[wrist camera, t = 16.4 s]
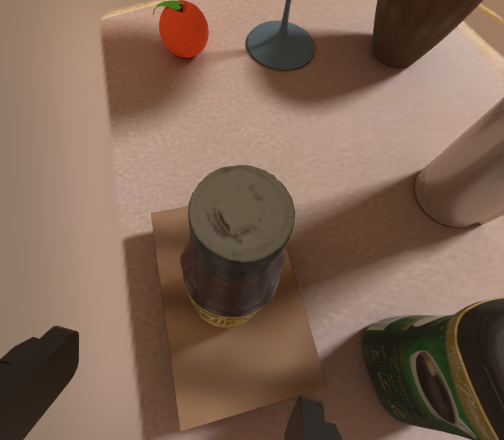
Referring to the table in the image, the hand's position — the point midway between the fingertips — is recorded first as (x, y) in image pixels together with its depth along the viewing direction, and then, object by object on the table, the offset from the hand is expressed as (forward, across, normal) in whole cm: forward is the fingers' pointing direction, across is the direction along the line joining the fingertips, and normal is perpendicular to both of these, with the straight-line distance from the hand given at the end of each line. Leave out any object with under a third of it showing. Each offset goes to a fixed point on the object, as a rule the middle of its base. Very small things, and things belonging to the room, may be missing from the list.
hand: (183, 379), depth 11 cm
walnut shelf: (+20, 0, +11) cm, 23 cm away
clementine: (+44, +17, -13) cm, 49 cm away
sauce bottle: (+17, 0, +9) cm, 19 cm away
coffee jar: (+18, -19, +13) cm, 30 cm away
